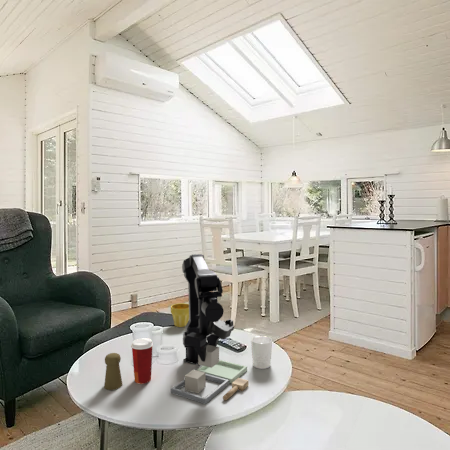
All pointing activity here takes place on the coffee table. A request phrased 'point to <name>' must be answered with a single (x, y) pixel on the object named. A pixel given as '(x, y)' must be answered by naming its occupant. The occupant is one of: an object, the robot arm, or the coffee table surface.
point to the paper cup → (142, 360)
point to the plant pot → (180, 314)
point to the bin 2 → (225, 370)
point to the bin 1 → (198, 398)
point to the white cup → (261, 351)
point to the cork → (112, 372)
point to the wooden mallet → (236, 387)
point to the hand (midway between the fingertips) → (207, 358)
